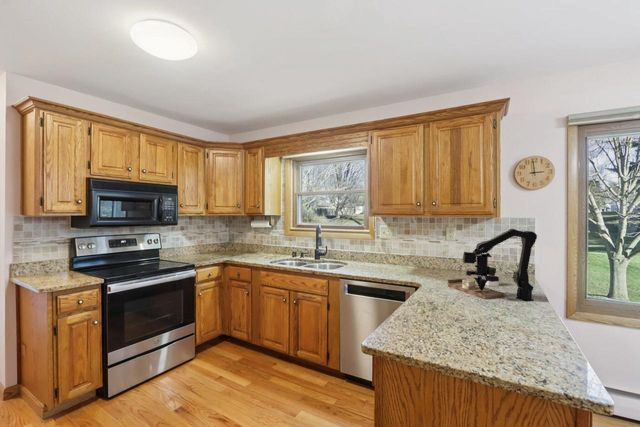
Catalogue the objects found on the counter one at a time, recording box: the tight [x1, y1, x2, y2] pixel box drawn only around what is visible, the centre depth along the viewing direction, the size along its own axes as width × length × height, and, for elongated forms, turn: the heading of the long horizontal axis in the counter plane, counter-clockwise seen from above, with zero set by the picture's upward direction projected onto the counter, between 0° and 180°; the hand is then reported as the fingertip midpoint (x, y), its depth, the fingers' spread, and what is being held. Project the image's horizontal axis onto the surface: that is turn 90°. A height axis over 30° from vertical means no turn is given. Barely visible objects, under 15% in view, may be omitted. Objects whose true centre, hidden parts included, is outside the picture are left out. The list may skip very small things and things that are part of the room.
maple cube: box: [462, 278, 476, 290], centre depth 186 cm, size 5×5×5 cm
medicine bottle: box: [485, 266, 500, 287], centre depth 206 cm, size 7×7×12 cm
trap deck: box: [447, 278, 506, 300], centre depth 188 cm, size 30×15×4 cm, turn 18°
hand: (481, 290), depth 178 cm, fingers closed
